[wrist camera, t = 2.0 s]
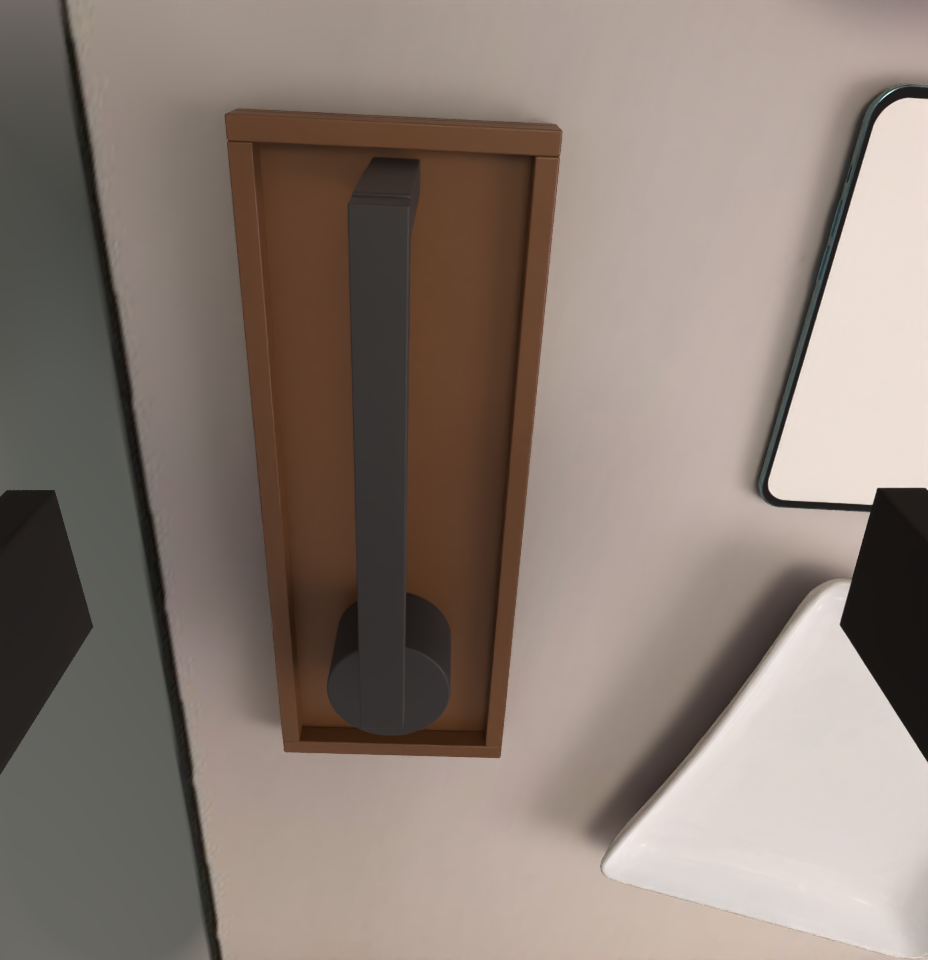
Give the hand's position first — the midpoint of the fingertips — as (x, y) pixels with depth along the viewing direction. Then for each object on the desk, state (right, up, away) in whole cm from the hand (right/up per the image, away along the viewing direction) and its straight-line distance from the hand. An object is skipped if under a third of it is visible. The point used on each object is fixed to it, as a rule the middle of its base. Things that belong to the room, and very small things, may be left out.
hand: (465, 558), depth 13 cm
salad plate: (+20, -13, +29) cm, 38 cm away
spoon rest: (-3, +1, +21) cm, 21 cm away
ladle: (-3, +2, +19) cm, 20 cm away
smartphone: (+17, +7, +17) cm, 25 cm away
